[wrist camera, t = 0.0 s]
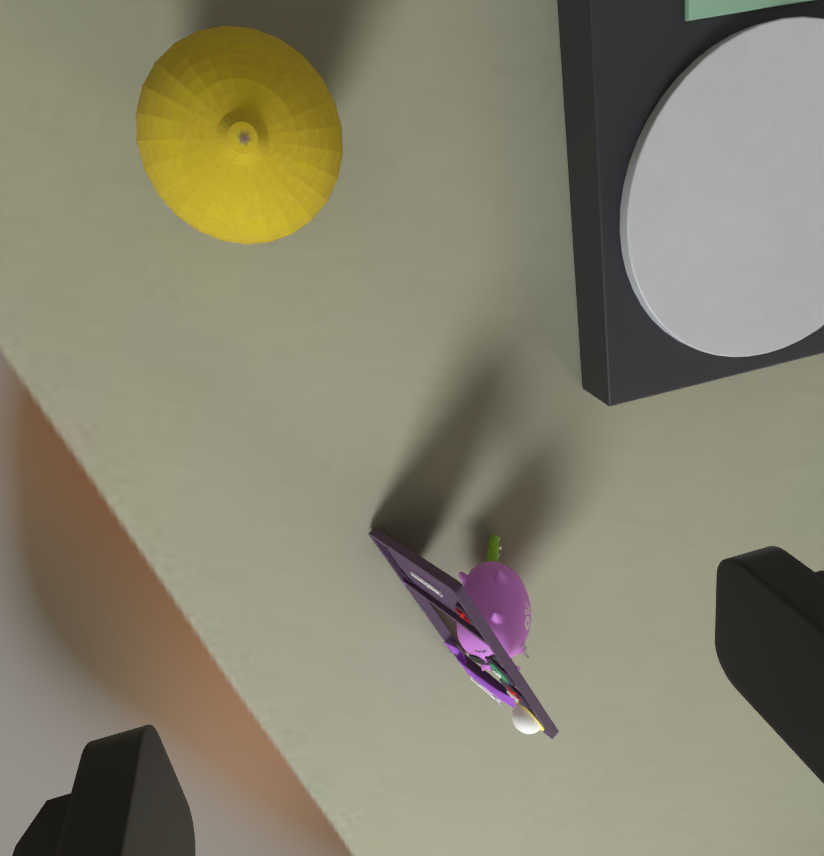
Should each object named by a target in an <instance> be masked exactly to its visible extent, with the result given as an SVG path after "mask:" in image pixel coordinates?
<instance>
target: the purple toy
mask: <svg viewBox="0 0 824 856" xmlns="http://www.w3.org/2000/svg"><path fill="white" fill-rule="evenodd" d="M369 535H370V537H371V538H372V540H373V541H374V542H375V544H376V545H377V547H378V548H379V550H380V551H381V552H382V554H383V555H384V557H385V558H386V559H387V561H388V562H389V564H390V565H391V566H392V568H393V569H394V571H395V572H396V573H397V575H398V576H399V578H400V579H401V580H402V582H403V583H404V585H405V586H406V587H407V589H408V590H409V592H410V593H411V594H412V596H413V597H414V599H415V600H416V601H417V603H418V604H419V606H420V607H421V608H422V610H423V611H424V613H425V614H426V616H427V617H428V618H429V620H430V621H431V623H432V624H433V625H434V627H435V628H436V630H437V631H438V632H439V634H440V635H441V637H442V638H443V639H444V641H445V642H444V643H445V644H446V645H447V646H448V648H449V649H450V652H452V653H454V655H455V656H456V658H457V659H458V661H459V662H460V664H461V665H462V666H463V668H464V669H465V671H466V672H467V673H468V674H469V675H470V678H471V680H472V681H474V682H475V683H476V684H477V685H478V686H479V687H481V688H482V689H483V690H485V692H486V693H488V694H489V695H490V696H491V697H493V698H494V699H495V700H497V701H498V703H499V704H500V705H501V706H502V705H503V704H502V703H501V702H500V700H499V699H501V700H502V701H504V702H505V703H507V704H508V705H510V706H512V707H514V709H513V712H512V719H513V723H514V725H515V727H516V728H517V729H518V730H519V731H521V732H523V733H525V734H533V733H536V732H538V731H539V730H541V731H543V732H544V733H545V734H546V735H548V736H549V737H550V738H552V739H553V738H554V737H555V735H556V734H557V733H558V732H559V731H558V729H557V728H556V726H555V725H554V723H553V722H552V720H551V719H550V717H549V716H548V714H547V713H546V711H545V710H544V708H543V707H542V705H541V704H540V702H539V701H538V699H537V698H536V696H535V695H534V693H533V692H532V690H531V688H530V687H529V685H528V684H527V682H526V681H525V679H524V678H523V676H522V675H521V673H520V672H519V670H520V667H518V666H516V665H515V664H514V663H513V661H512V657H513V656H514V655H516V654H519V653H522V654H523V655H525V656H526V657H529V656H528V654H527V652H526V650H525V648H526V649H527V647H526V646H525V645H524V643H525V641H526V638H527V636H528V632H529V628H530V623H531V609H530V602H529V598H528V594H527V591H526V589H525V586H524V584H523V582H522V580H521V579H520V577H519V576H518V575H517V574H516V573H515V572H514V571H513V570H512V569H511V568H509V567H508V566H506V565H504V564H501V563H500V562H499V560H498V558H499V556H500V554H499V553H498V550H499V549H500V550H501V548H503V547H500V546H499V541H500V538H499V537H498V536H497V535H492V536H491V537H490V542H489V546H488V552H487V559H486V562H484V563H481V564H479V565H477V566H476V567H474V568H473V569H472V570H471V572H470V573H469V574H468V575H466V574H465V573H463V572H460V573H459V577H460V579H461V581H462V582H463V585H464V587H463V585H462V584H461V583H460V582H459V581H457V580H456V579H454V578H453V577H451V576H450V575H448V574H447V573H445V572H443V571H442V570H440V569H439V568H437V567H436V566H434V565H433V564H431V563H430V562H428V561H426V560H425V559H423V558H422V557H420V556H419V555H417V554H416V553H414V552H413V551H411V550H409V549H408V548H406V547H405V546H403V545H402V544H400V543H399V542H397V541H396V540H394V539H392V538H391V537H389V536H388V535H386V534H385V533H383V532H382V531H380V530H378V529H377V528H374V529H373V530H372V531H371V532H370V533H369ZM428 601H429V602H430V603H431V604H433V605H434V606H435V607H437V608H438V609H439V610H441V611H442V612H443V613H445V614H446V615H447V616H449V617H450V618H451V619H453V620H454V621H455V622H457V635H458V639H459V642H460V643H461V645H462V647H463V648H464V649H465V650H466V651H467V652H468V653H469V654H470V655H469V657H470V658H469V657H467V656H466V654H465V653H464V652H463V650H462V649H461V647H460V646H459V644H458V643H457V642H456V640H455V639H454V637H453V636H452V634H451V633H450V632H449V630H448V629H447V627H446V626H445V624H444V623H443V622H442V620H441V619H440V617H439V616H438V614H437V613H436V612H435V610H434V609H433V607H432V606H431V605H430V603H429V602H428ZM471 659H472V660H473V661H472V660H471ZM474 661H475V662H476V663H480V664H481V667H480V666H479V665H477V664H476V663H475V662H474ZM500 665H502V666H500ZM486 668H487V669H488V670H489V671H491V670H492V669H493V671H494V672H495V674H496V675H497V676H498V677H499V678H501V679H500V681H501V683H502V684H503V685H502V684H501V683H500V682H498V681H497V680H496V679H495V678H494V677H492V676H491V675H490V674H489V673H487V672H486V671H485V669H486ZM514 686H516V688H517V689H518V690H517V689H516V688H515V687H514ZM492 693H493V694H492ZM496 696H497V697H498V698H499V699H498V698H497V697H496Z"/></svg>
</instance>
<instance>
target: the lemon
mask: <svg viewBox="0 0 824 856" xmlns="http://www.w3.org/2000/svg"><path fill="white" fill-rule="evenodd" d="M136 125H137V144H138V148H139V151H140V155H141V158H142V162H143V166H144V169H145V171H146V173H147V175H148V177H149V178H150V180H151V182H152V184H153V186H154V188H155V189H156V191H157V193H158V195H159V196H160V197H161V198H162V199H163V200H164V201H165V203H166V204H167V205H168V206H169V207H170V208H171V209H172V211H173V212H174V213H175V214H176V215H177V216H178V217H180V218H181V219H183V220H184V221H185V222H187V223H188V224H190V225H191V226H192V227H194V228H195V229H197V230H198V231H200V232H203V233H205V234H208V235H210V236H212V237H215V238H217V239H220V240H222V241H229V242H235V243H242V244H254V243H264V242H272V241H274V240H277V239H280V238H282V237H285V236H287V235H290V234H293V233H294V232H296V231H297V230H298V229H300V228H301V227H303V226H304V225H305V224H307V223H308V222H310V221H311V220H312V219H313V218H314V217H315V216H316V214H317V213H318V212H319V211H320V210H321V208H322V207H323V206H324V205H325V204H326V202H327V201H328V199H329V197H330V195H331V192H332V190H333V188H334V186H335V184H336V181H337V179H338V175H339V170H340V165H341V160H342V154H343V148H342V127H341V123H340V119H339V116H338V112H337V109H336V105H335V102H334V99H333V97H332V96H331V94H330V92H329V90H328V88H327V86H326V85H325V83H324V81H323V79H322V77H321V75H320V74H319V73H318V72H317V71H316V70H315V69H314V67H313V66H312V65H311V64H310V63H309V62H308V61H307V60H306V58H305V57H304V56H303V55H302V54H301V53H299V52H298V51H296V50H295V49H294V48H292V47H291V46H289V45H288V44H286V43H285V42H283V41H282V40H281V39H279V38H277V37H274V36H272V35H269V34H266V33H264V32H261V31H258V30H256V29H253V28H245V27H235V26H220V27H215V28H210V29H205V30H199V31H197V32H195V33H193V34H191V35H189V36H187V37H186V38H184V39H182V40H180V41H178V42H176V43H174V44H173V45H172V46H171V47H170V48H169V49H168V50H167V51H166V52H165V53H164V54H163V55H162V56H161V57H160V58H159V59H158V60H157V61H156V62H155V64H154V66H153V68H152V70H151V71H150V73H149V75H148V77H147V79H146V81H145V82H144V84H143V86H142V90H141V95H140V99H139V103H138V108H137V112H136Z"/></svg>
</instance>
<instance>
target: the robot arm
mask: <svg viewBox="0 0 824 856" xmlns="http://www.w3.org/2000/svg"><path fill="white" fill-rule="evenodd" d="M715 647H716V652H717V656H718V659H719V662H720V664H721V666H722V668H723V670H724V672H725V674H726V676H727V677H728V679H729V680H730V682H731V683H732V685H733V686H734V687H735V688H736V689H737V690H738V691H739V692H740V694H741V695H742V696H743V697H744V698H745V699H746V700H747V701H748V702H749V703H750V704H751V705H752V707H753V708H754V709H755V710H756V711H757V712H758V713H759V714H760V715H761V716H762V717H763V718H764V720H765V721H766V722H767V723H768V724H769V725H770V726H771V727H772V728H773V729H774V730H775V731H776V733H777V734H778V735H779V736H780V737H781V738H782V739H783V740H784V741H785V742H786V743H787V744H788V746H789V747H790V748H791V749H792V750H793V751H794V752H795V753H796V754H797V755H798V756H799V757H800V759H801V760H802V761H803V762H804V763H805V764H806V765H807V766H808V767H809V768H810V769H811V770H812V772H813V773H814V774H815V775H816V776H817V777H818V778H819V779H820V780H821V781H822V782H823V783H824V571H822V570H821V571H818V572H814V571H812V570H811V569H809V568H808V567H807V566H805V565H804V564H803V563H801V562H800V561H798V560H797V559H796V558H794V557H793V556H792V555H790V554H789V553H787V552H786V551H784V550H783V549H781V548H779V547H775V546H769V547H766V548H762V549H759V550H755V551H752V552H748V553H745V554H742V555H738V556H735V557H731V558H728V559H725V560H723V561H721V562H720V564H719V566H718V569H717V587H716V622H715ZM12 856H195V835H194V827H193V821H192V816H191V812H190V808H189V805H188V802H187V800H186V798H185V796H184V793H183V791H182V788H181V786H180V783H179V782H178V779H177V777H176V774H175V772H174V769H173V767H172V765H171V763H170V760H169V758H168V755H167V753H166V751H165V748H164V746H163V744H162V741H161V739H160V737H159V735H158V732H157V731H156V729H155V728H154V727H153V726H152V725H146V726H142V727H139V728H135V729H132V730H128V731H125V732H122V733H118V734H115V735H111V736H108V737H104V738H101V739H98V740H94V741H91V742H89V743H88V744H87V745H86V746H85V748H84V750H83V753H82V756H81V759H80V763H79V767H78V770H77V774H76V778H75V781H74V785H73V789H72V792H71V793H70V794H67V795H64V796H60V797H57V798H54V799H50V800H47V801H46V803H45V804H44V806H43V807H42V808H41V810H40V811H39V813H38V814H37V816H36V817H35V819H34V820H33V822H32V823H31V825H30V826H29V827H28V829H27V830H26V832H25V833H24V835H23V836H22V837H21V839H20V840H19V842H18V843H17V845H16V847H15V850H14V852H13V855H12Z"/></svg>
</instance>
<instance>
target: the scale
mask: <svg viewBox="0 0 824 856" xmlns="http://www.w3.org/2000/svg"><path fill="white" fill-rule="evenodd" d="M558 15H559V31H560V46H561V62H562V77H563V93H564V108H565V124H566V139H567V155H568V170H569V186H570V202H571V217H572V233H573V248H574V264H575V279H576V295H577V310H578V326H579V341H580V357H581V372H582V387H583V389H585V390H586V391H587V392H589V393H590V394H592V395H593V396H595V397H596V398H598V399H599V400H601V401H602V402H604V403H605V404H607V405H608V406H613V405H617V404H621V403H625V402H629V401H633V400H637V399H641V398H645V397H649V396H653V395H657V394H661V393H665V392H669V391H673V390H677V389H681V388H685V387H689V386H693V385H697V384H701V383H705V382H709V381H713V380H717V379H721V378H725V377H729V376H733V375H737V374H741V373H745V372H749V371H753V370H757V369H761V368H765V367H769V366H773V365H777V364H781V363H785V362H789V361H793V360H797V359H801V358H805V357H809V356H813V355H817V354H821V353H824V0H558Z"/></svg>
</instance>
